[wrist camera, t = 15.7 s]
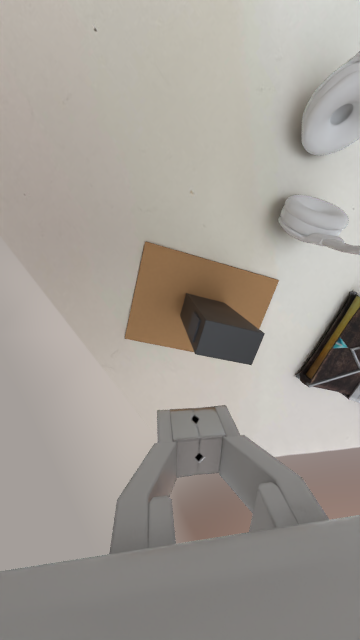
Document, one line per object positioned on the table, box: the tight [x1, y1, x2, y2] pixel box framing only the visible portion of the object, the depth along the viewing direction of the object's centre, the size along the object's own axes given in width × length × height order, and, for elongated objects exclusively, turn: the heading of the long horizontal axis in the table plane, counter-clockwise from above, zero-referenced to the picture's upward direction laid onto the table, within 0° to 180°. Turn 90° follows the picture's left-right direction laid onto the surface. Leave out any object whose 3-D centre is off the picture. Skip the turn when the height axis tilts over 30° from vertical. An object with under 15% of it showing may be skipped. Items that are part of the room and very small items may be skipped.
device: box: [180, 293, 265, 365], centre depth 26 cm, size 6×4×12 cm, turn 75°
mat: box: [125, 242, 279, 352], centre depth 32 cm, size 20×14×1 cm
